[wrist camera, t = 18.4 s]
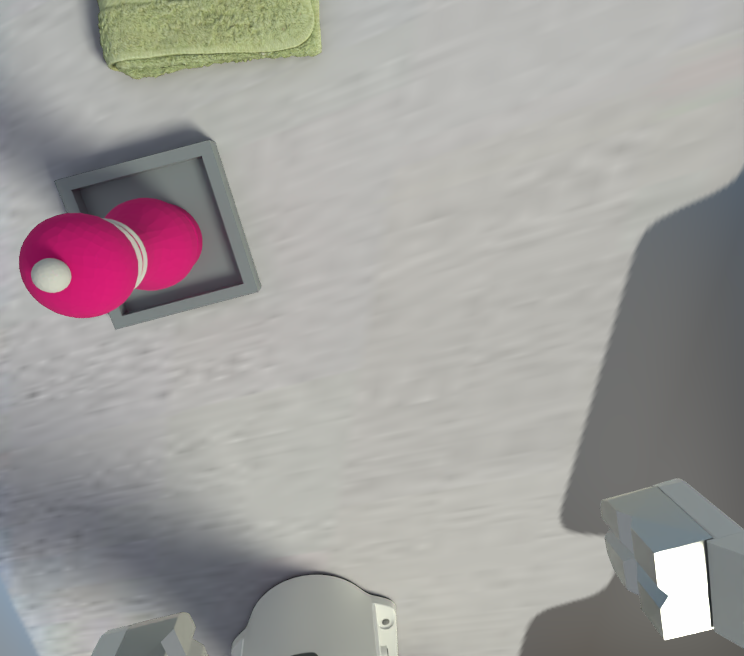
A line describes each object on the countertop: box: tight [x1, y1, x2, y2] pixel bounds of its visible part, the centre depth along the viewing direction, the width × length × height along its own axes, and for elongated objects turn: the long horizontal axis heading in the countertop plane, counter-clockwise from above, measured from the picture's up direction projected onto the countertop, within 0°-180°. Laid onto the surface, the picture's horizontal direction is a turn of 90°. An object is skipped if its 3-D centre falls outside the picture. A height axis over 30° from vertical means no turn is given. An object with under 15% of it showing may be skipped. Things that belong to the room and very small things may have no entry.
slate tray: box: [54, 140, 261, 330], centre depth 44 cm, size 13×13×2 cm
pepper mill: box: [19, 198, 203, 318], centre depth 35 cm, size 7×7×20 cm
